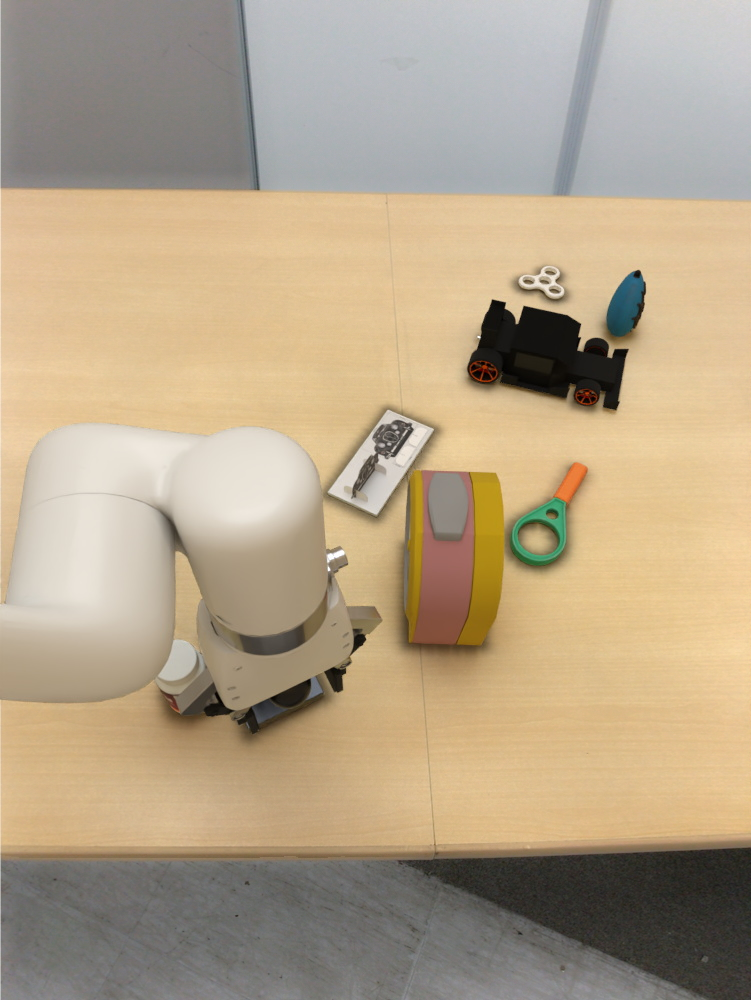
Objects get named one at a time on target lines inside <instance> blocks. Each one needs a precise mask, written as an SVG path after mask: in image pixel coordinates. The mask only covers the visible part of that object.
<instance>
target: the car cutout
mask: <svg viewBox="0 0 751 1000" xmlns="http://www.w3.org/2000/svg"><path fill="white" fill-rule="evenodd" d="M434 432H435V429H434V427H433V428H432V427H431V426H428V425H426V424H423V423H421V422H419V421H416V420H414V419H411V418H409V417H407V416H404V415H402V414H399V413H397V412H395V411H392V410H390V409H387V410H386V412H385V413H384V414H383V415H382V417H381V418H380V419H379V421H378V422H377V424H376V425H375V426H374V428H373V429H372V431H371V432H370V434H369V435H368V436H367V437H366V439H365V440H364V442H363V443H362V444H361V446H360V447H359V448H358V449H357V451H356V452H355V454H354V455H353V456H352V458H351V459H350V461H349V462H348V463H347V465H346V466H345V468H344V469H343V470H342V472H341V473H340V474H339V476H338V477H337V478H336V480H335V481H334V482H333V484H332V485H331V486H330V488H329V489H328V491H327V495H328V496H329V497H332V498H334V499H336V500H339V501H341V502H343V503H345V504H347V505H349V506H351V507H354V508H356V509H358V510H360V511H362V512H364V513H366V514H369V515H370V516H373V517H375V518H378V517H379V515H380V514H381V512H382V511H383V509H384V507H385V506H386V504H387V503H388V501H389V500H390V498H391V497H392V495H393V494H394V492H395V490H397V488H398V486H399V485H400V483H401V482H402V481H403V479H404V478H405V476H406V474H407V473H408V471H409V470H410V468H411V467H412V466H413V464H414V462H415V461H416V459H417V458H418V456H419V455H420V453H422V450H423V449H424V447H425V446H426V444H427V443H428V441H429V439H430V438H431V437H432V436H433V434H434Z"/></svg>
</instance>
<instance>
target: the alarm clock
mask: <svg viewBox="0 0 751 1000" xmlns="http://www.w3.org/2000/svg"><path fill="white" fill-rule="evenodd" d="M406 491H407V492H406V504H405V505H406V506H405V521H404V523H405V525H404V552H403V553H404V554H403V611H404V614H405V616H406V618H407V620H408V644H427V645H429V644H431V645H454V646H455V645H456V646H457V645H458V646H460V645H461V646H482V645H483V642H484V641H485V639H486V637H487V635H488V633H489V632H490V631H491V628H492V627H493V625H494V623H495V621H496V619H497V617H498V613H499V612H498V611H499V607H500V602H501V597H502V587H503V577H504V567H505V566H504V565H505V514H504V513H505V511H504V499H503V493H502V485H501V482H500V479H499V476H498V475H497V472H490V471H483V472H482V471H460V470H459V471H457V470H429V469H428V470H427V469H426V470H425V469H421V470H420V469H415V470H413V472H412V473H411V475H410V477H409V478H408V481H407V490H406Z"/></svg>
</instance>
